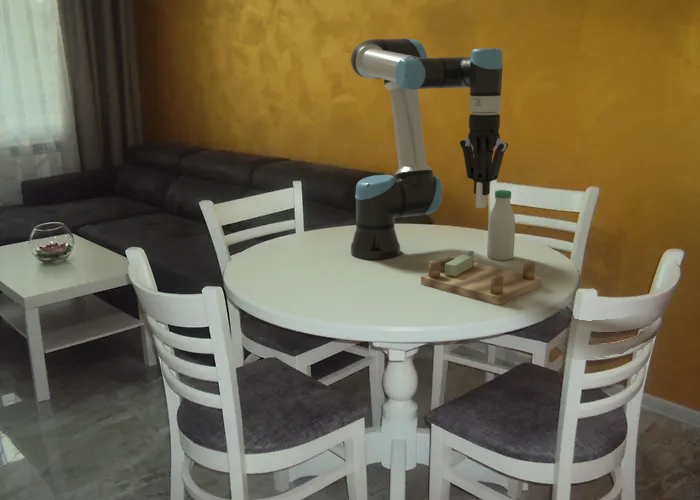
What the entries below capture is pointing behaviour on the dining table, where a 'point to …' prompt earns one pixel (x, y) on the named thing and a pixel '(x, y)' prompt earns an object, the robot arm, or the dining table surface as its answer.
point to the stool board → (483, 281)
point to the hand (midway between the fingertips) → (481, 207)
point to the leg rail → (460, 264)
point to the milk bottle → (501, 228)
